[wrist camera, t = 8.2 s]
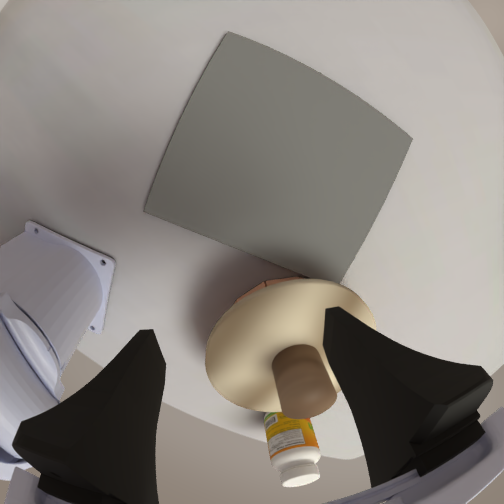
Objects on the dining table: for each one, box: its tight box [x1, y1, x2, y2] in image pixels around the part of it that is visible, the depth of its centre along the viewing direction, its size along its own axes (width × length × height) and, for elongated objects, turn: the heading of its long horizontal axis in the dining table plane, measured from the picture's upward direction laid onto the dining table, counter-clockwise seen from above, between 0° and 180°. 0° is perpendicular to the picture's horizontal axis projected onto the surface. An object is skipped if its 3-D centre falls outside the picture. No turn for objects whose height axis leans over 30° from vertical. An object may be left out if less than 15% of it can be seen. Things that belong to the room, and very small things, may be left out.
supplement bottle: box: [264, 412, 321, 487], centre depth 24 cm, size 5×5×10 cm
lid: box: [205, 279, 376, 419], centre depth 17 cm, size 13×13×5 cm
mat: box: [144, 31, 413, 284], centre depth 18 cm, size 16×14×1 cm
